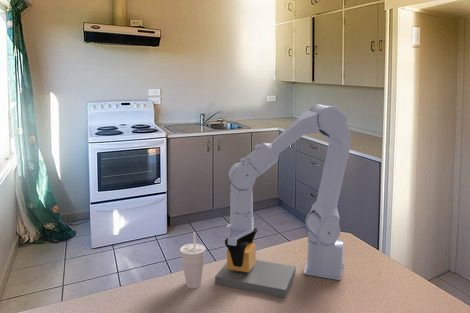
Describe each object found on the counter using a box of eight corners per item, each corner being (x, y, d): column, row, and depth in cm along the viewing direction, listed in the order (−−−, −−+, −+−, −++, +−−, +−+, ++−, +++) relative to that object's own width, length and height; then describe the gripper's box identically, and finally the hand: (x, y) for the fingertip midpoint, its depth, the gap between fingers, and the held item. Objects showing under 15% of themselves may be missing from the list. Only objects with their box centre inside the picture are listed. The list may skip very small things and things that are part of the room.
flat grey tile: (295, 273, 98) (295, 255, 97) (285, 297, 87) (285, 277, 86) (231, 262, 104) (231, 245, 103) (215, 284, 93) (214, 264, 92)
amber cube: (255, 262, 98) (255, 243, 97) (248, 272, 93) (248, 253, 92) (235, 258, 100) (234, 240, 99) (227, 268, 95) (227, 249, 94)
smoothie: (202, 292, 89) (201, 238, 87) (177, 289, 90) (175, 236, 88) (209, 279, 95) (208, 228, 93) (185, 276, 97) (184, 226, 94)
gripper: (236, 200, 101) (236, 246, 104) (215, 218, 88) (216, 270, 91) (261, 203, 99) (260, 250, 102) (243, 221, 86) (243, 275, 88)
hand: (241, 260), depth 96 cm, fingers closed on amber cube, 5 cm apart
